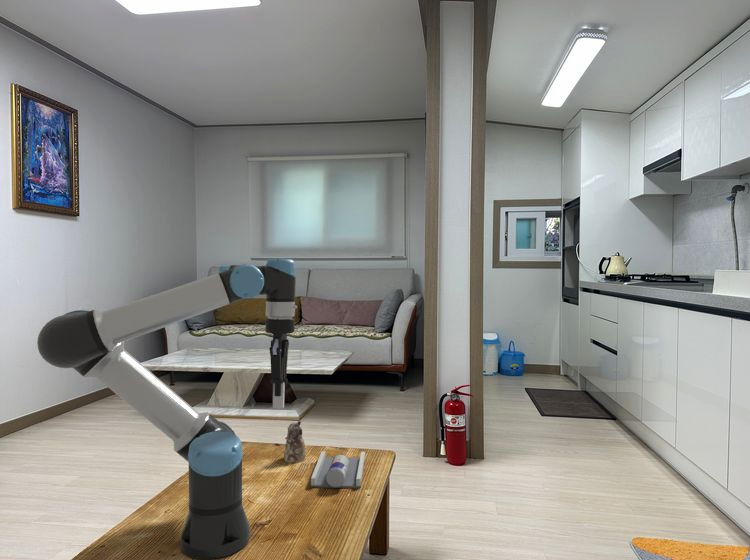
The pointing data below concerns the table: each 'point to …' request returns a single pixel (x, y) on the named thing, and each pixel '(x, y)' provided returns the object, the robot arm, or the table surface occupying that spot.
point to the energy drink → (337, 471)
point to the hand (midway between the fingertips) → (278, 407)
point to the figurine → (294, 444)
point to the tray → (352, 476)
